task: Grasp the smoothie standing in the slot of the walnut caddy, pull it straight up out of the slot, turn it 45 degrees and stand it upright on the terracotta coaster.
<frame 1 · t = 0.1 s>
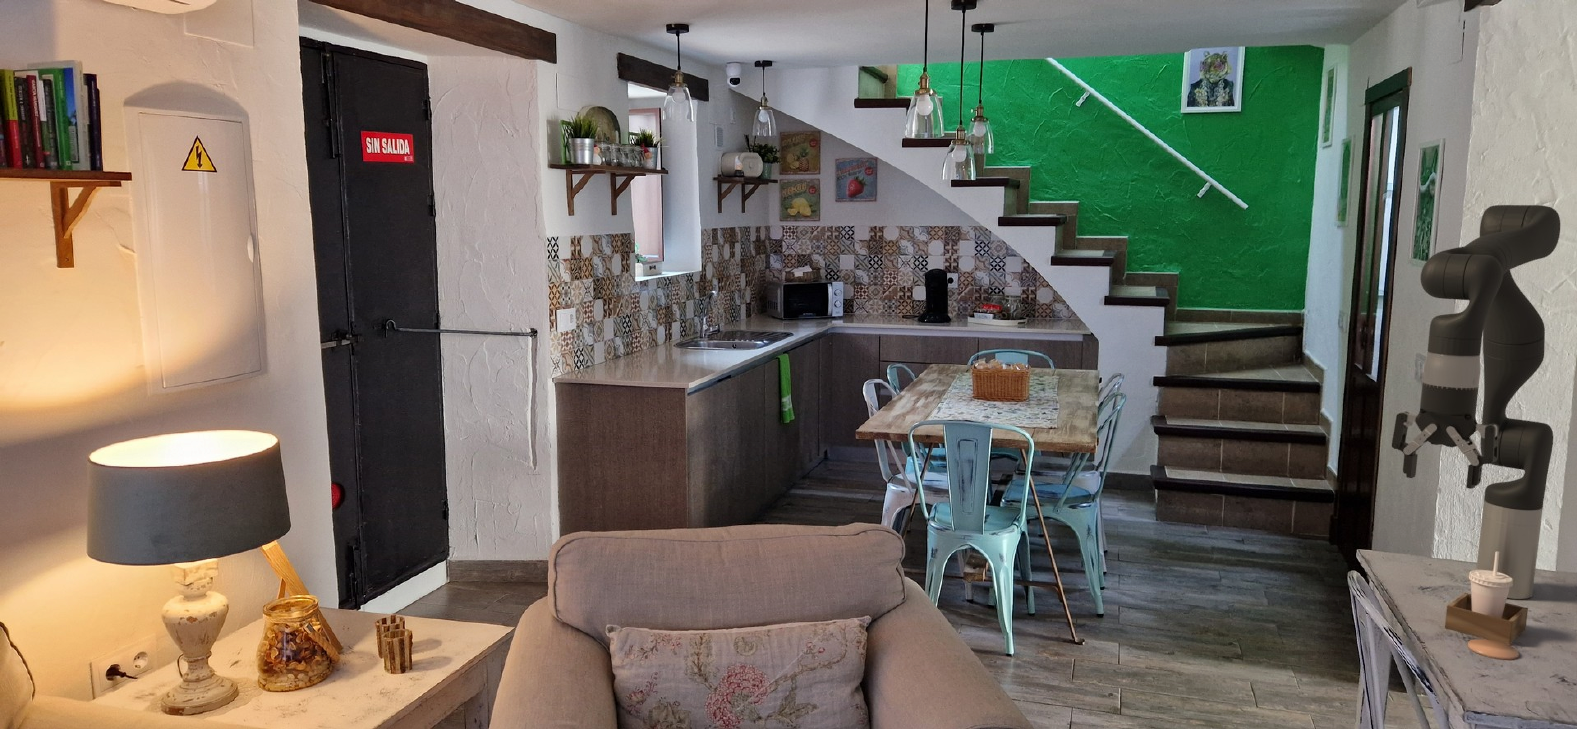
hand: (1440, 482, 169), 29 cm above the table, fingers open, 8 cm apart
smoothie: (1484, 630, 184), resting in caddy
caddy: (1484, 629, 184), on the table
coaster: (1492, 650, 175), on the table
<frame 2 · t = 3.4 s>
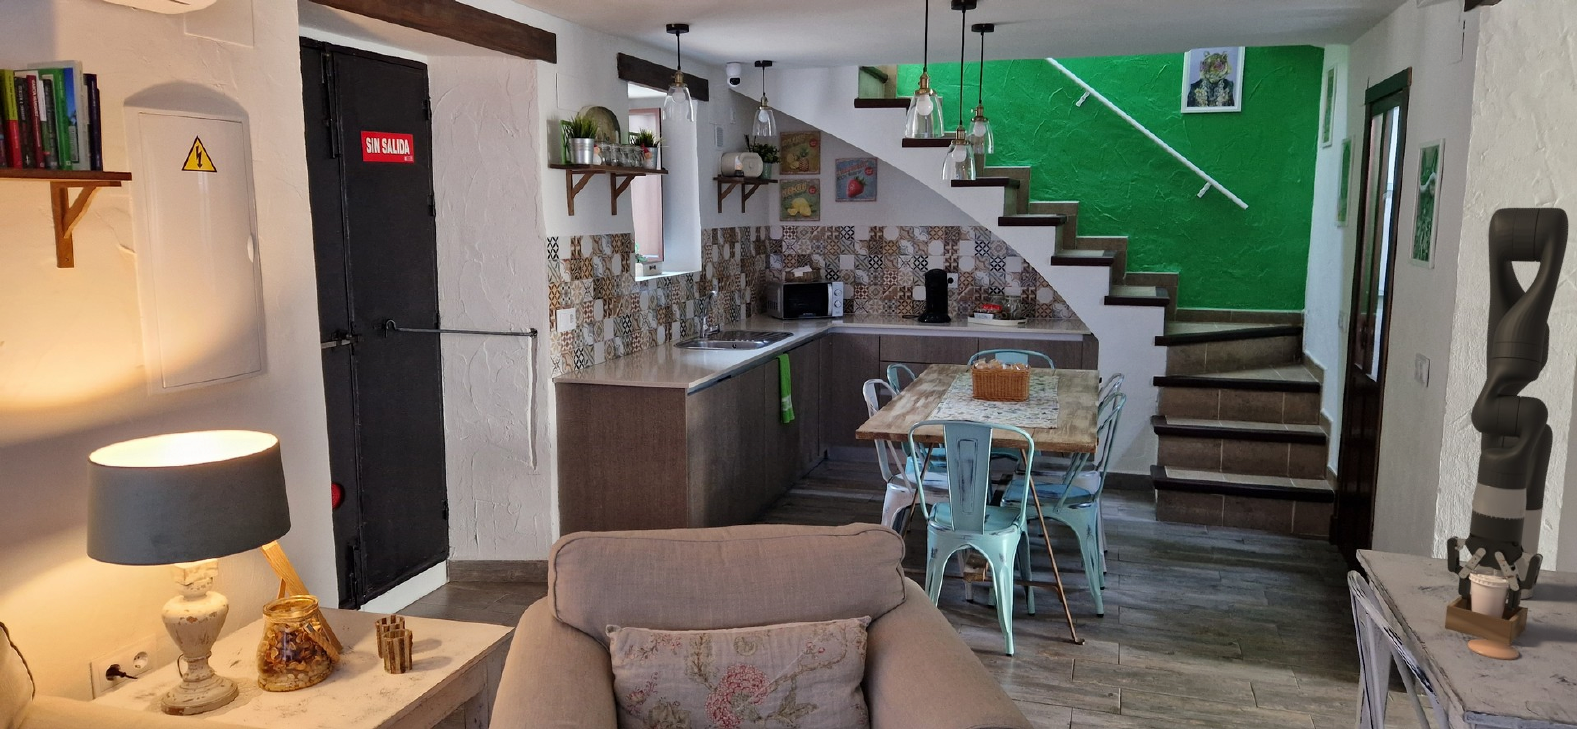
hand: (1487, 603, 184), 5 cm above the table, fingers closed on smoothie, 6 cm apart
smoothie: (1484, 630, 184), resting in caddy, touching gripper
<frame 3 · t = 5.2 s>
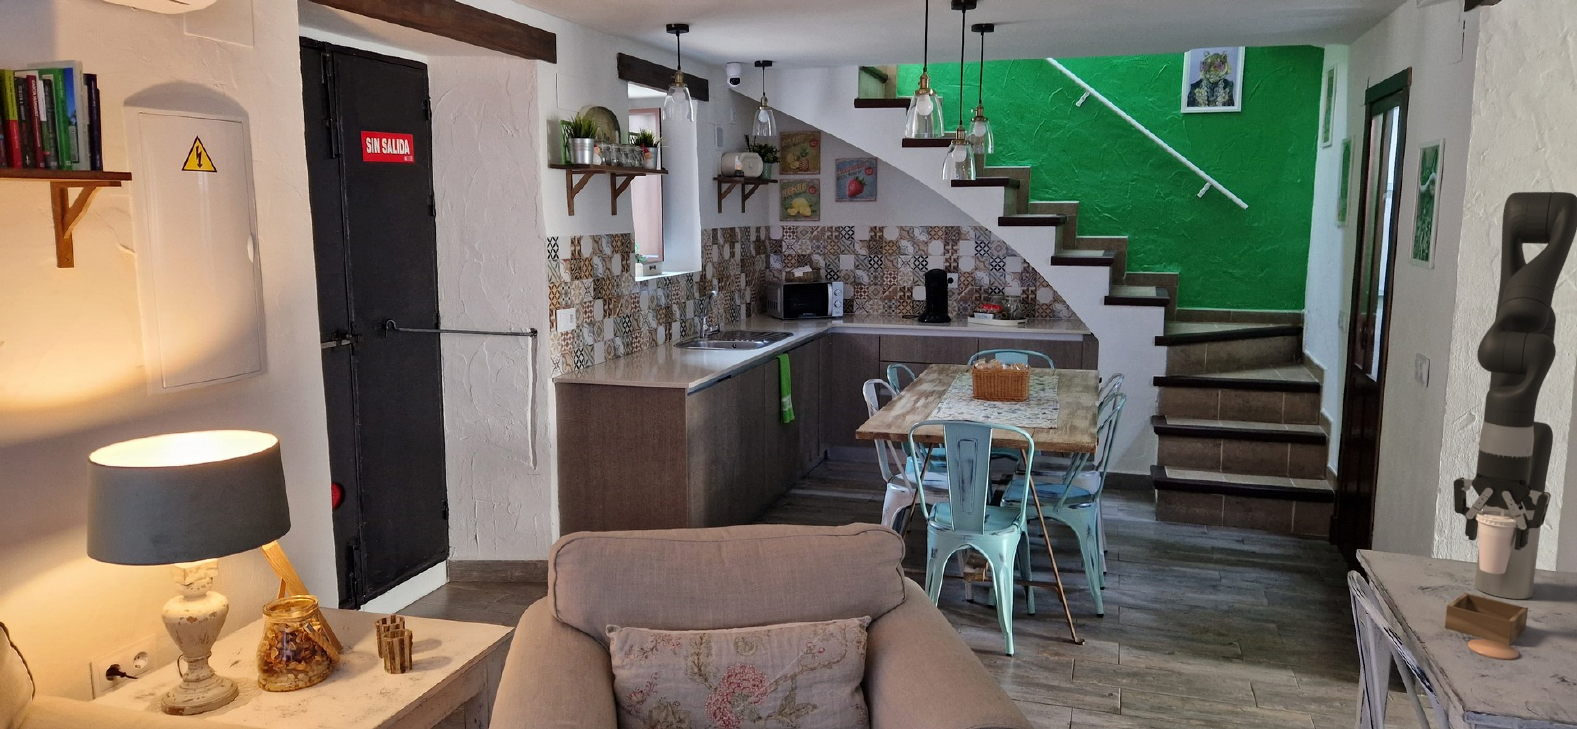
hand: (1495, 543, 182), 15 cm above the table, fingers closed on smoothie, 6 cm apart
smoothie: (1492, 571, 183), point 10 cm above the table, touching gripper
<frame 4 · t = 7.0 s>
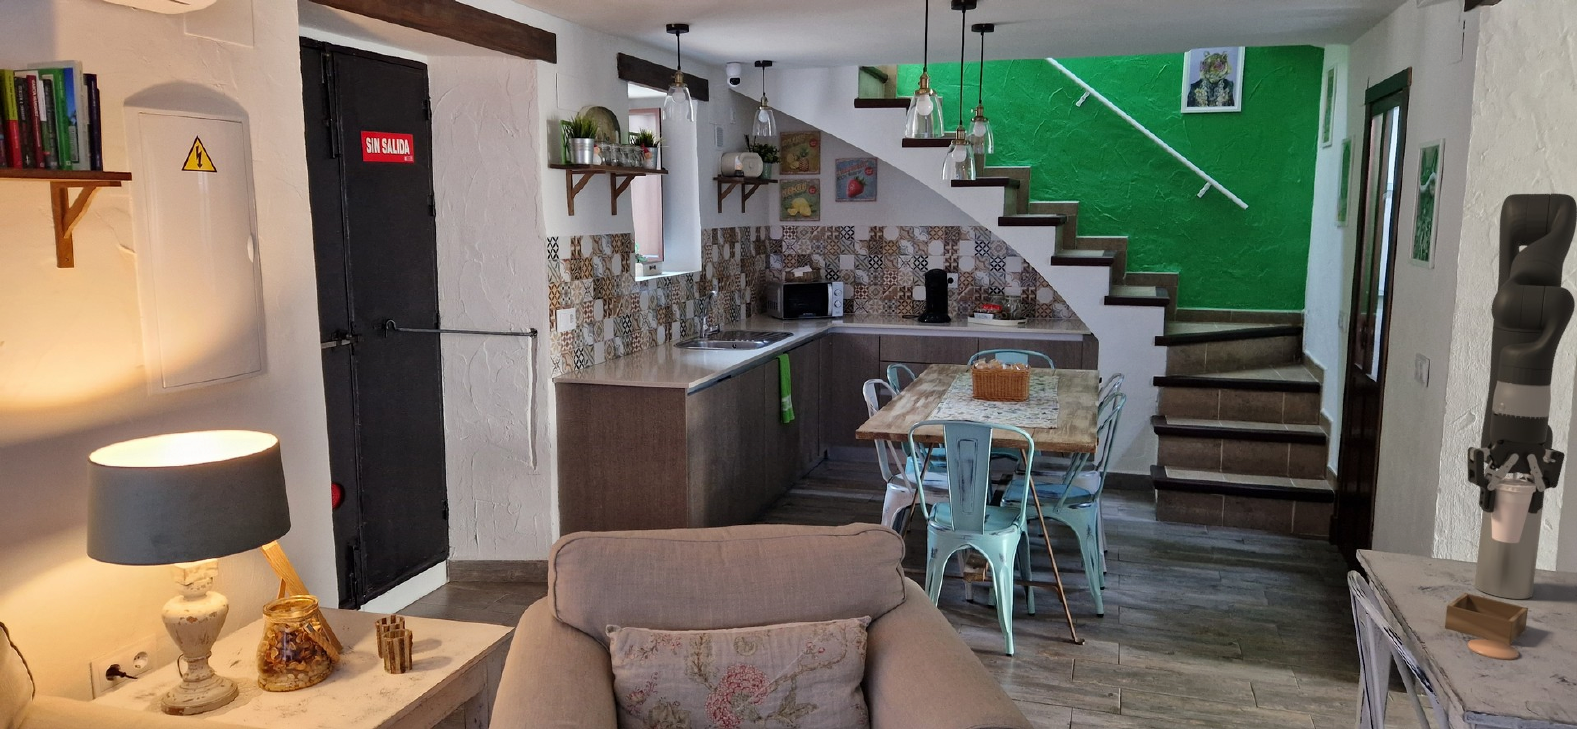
hand: (1508, 511, 172), 24 cm above the table, fingers closed on smoothie, 6 cm apart
smoothie: (1505, 540, 173), point 19 cm above the table, touching gripper
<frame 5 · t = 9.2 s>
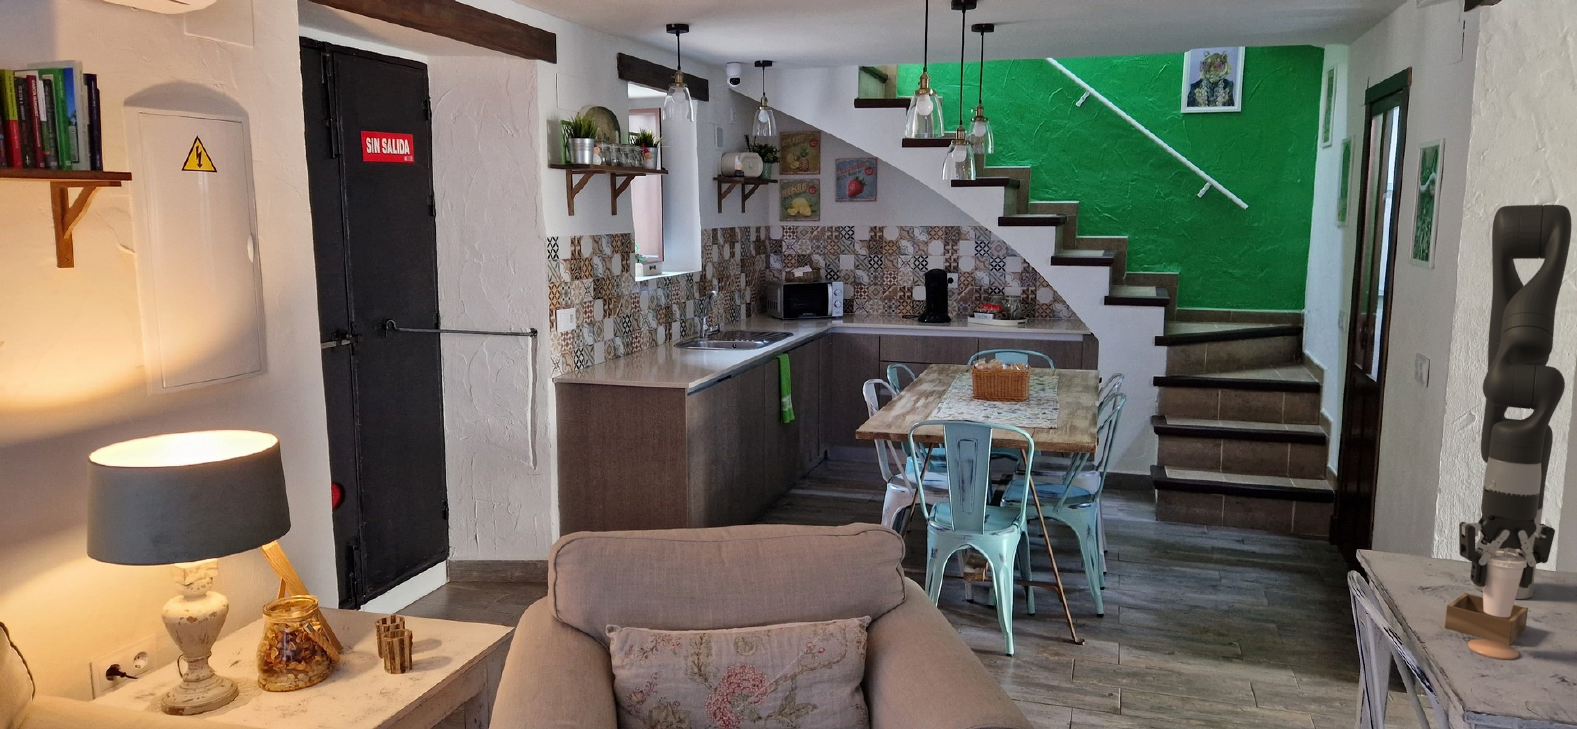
hand: (1500, 585, 174), 11 cm above the table, fingers closed on smoothie, 6 cm apart
smoothie: (1496, 614, 174), point 6 cm above the table, touching gripper
when the fingers open (6 cm above the table, at t = 10.8 s): smoothie drops 1 cm, resting on coaster.
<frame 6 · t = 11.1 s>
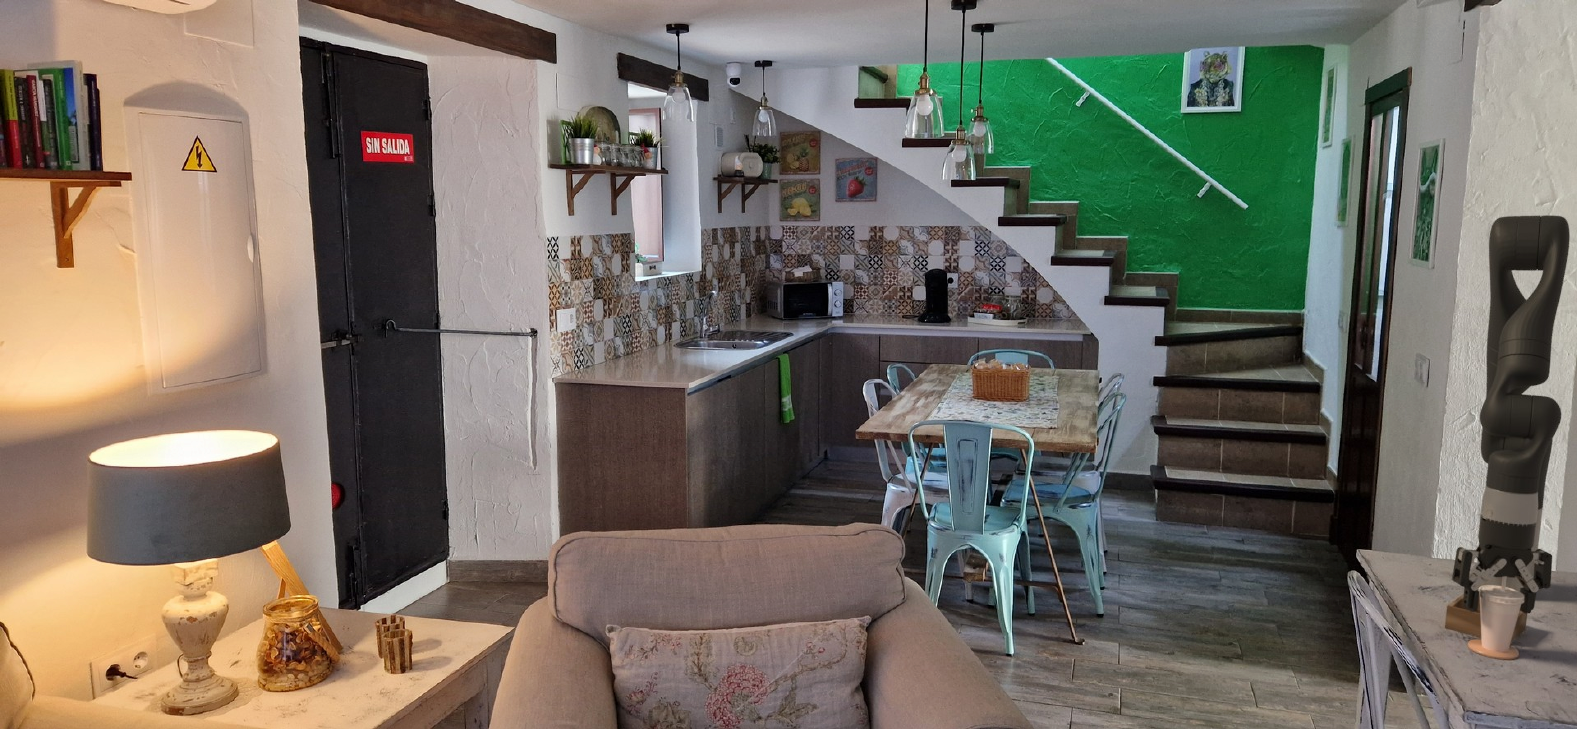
hand: (1497, 611, 174), 7 cm above the table, fingers open, 8 cm apart
smoothie: (1494, 648, 175), resting on coaster
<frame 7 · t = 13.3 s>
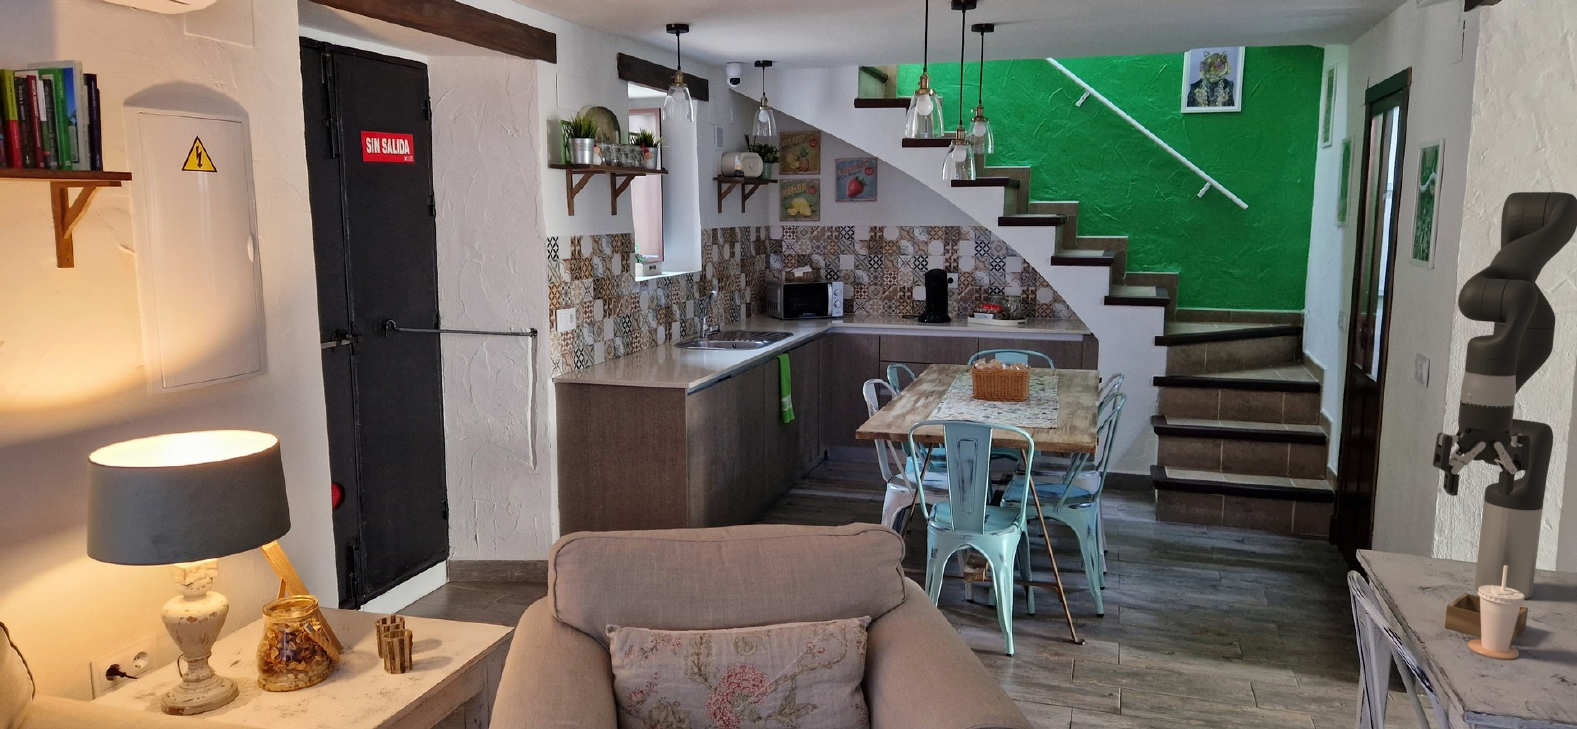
hand: (1477, 494, 178), 25 cm above the table, fingers open, 8 cm apart
nothing on the table moved.
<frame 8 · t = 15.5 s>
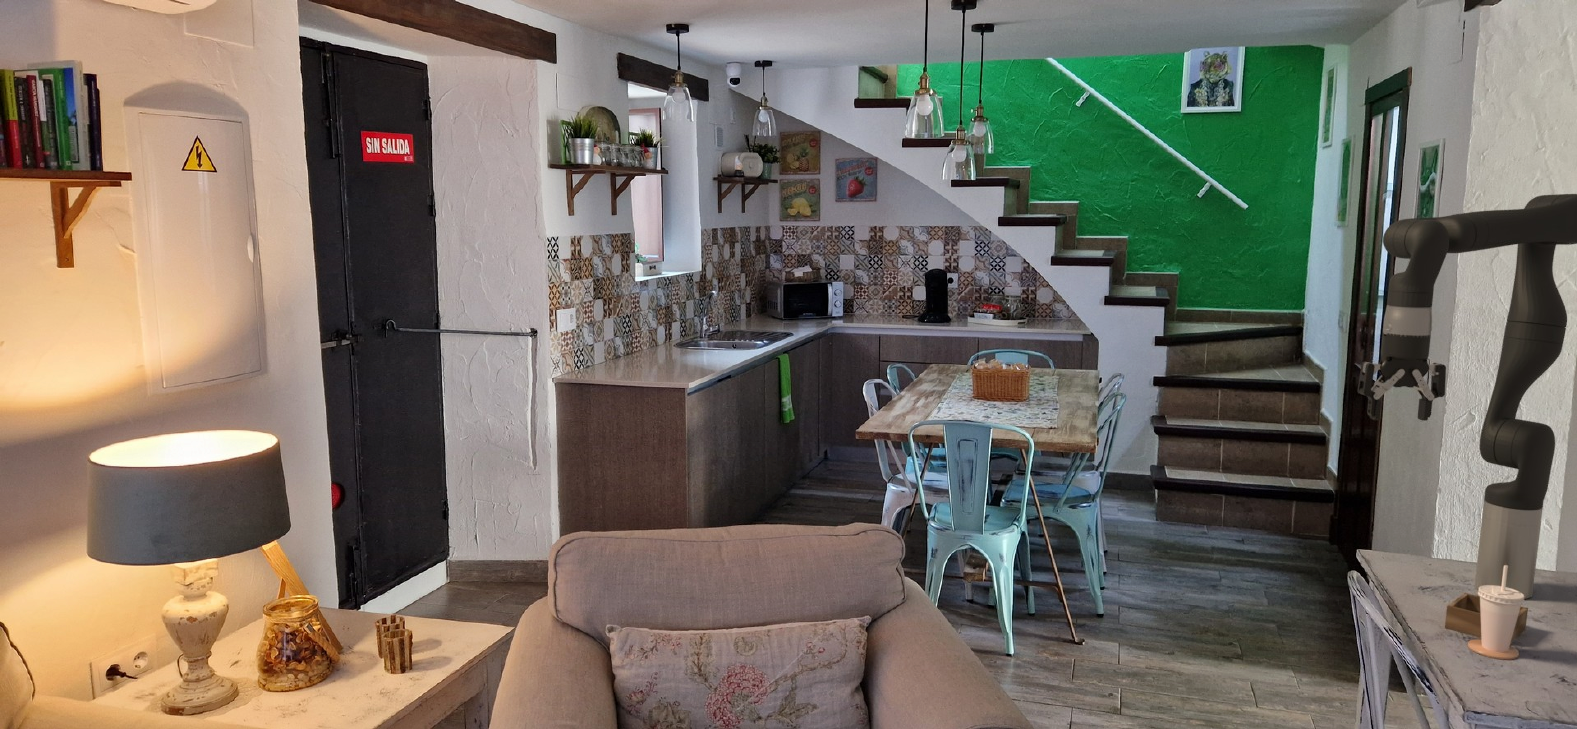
hand: (1398, 419, 193), 34 cm above the table, fingers open, 8 cm apart
nothing on the table moved.
at the end: smoothie 0.4 cm off-centre on the coaster, point 0.3 cm above the coaster's base; smoothie tilted 0°; the gripper is holding nothing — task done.
